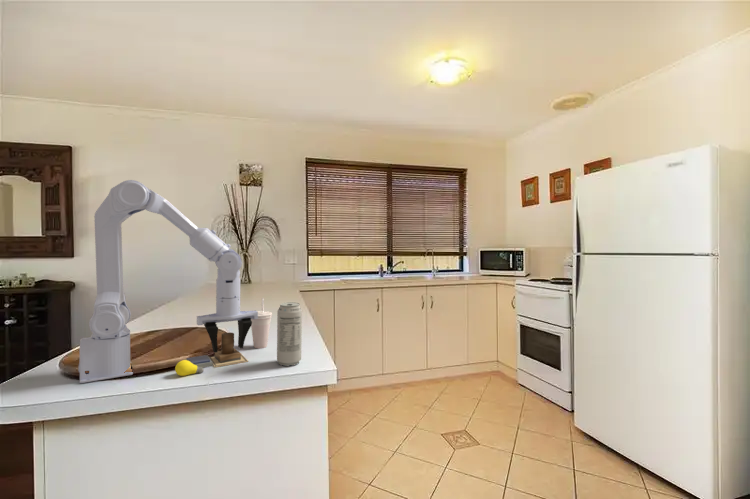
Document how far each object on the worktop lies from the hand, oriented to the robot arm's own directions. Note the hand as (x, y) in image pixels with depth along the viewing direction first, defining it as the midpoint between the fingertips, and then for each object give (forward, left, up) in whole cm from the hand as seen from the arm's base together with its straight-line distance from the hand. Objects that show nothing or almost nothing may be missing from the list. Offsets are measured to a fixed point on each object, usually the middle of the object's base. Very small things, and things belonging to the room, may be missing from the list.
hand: (228, 349), depth 96 cm
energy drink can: (+12, -10, -3) cm, 16 cm away
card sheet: (0, 0, -3) cm, 3 cm away
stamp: (0, 0, -2) cm, 3 cm away
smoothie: (+10, +7, -3) cm, 13 cm away
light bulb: (-10, -6, -3) cm, 12 cm away
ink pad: (-7, 0, -3) cm, 8 cm away
